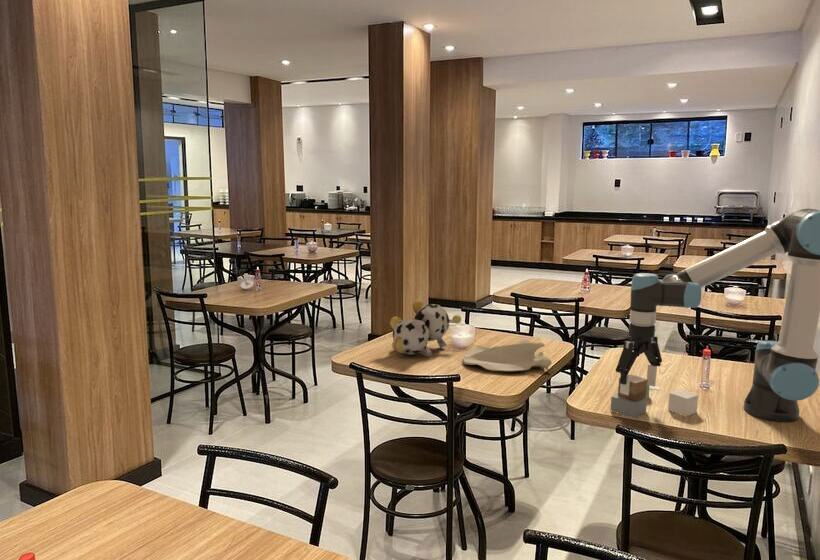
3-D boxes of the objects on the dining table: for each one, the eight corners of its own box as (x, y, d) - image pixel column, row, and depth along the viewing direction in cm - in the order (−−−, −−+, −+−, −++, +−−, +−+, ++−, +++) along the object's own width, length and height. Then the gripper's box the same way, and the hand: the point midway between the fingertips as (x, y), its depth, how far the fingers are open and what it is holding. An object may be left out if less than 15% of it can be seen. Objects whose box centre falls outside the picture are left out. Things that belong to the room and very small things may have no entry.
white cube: (696, 413, 191) (698, 394, 190) (685, 417, 188) (687, 398, 187) (678, 407, 196) (680, 389, 195) (668, 410, 192) (669, 392, 191)
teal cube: (648, 396, 205) (650, 379, 204) (637, 400, 201) (639, 383, 200) (633, 391, 210) (634, 374, 209) (622, 394, 206) (623, 378, 205)
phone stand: (659, 399, 204) (659, 394, 203) (621, 394, 208) (622, 389, 208) (659, 381, 222) (660, 377, 221) (625, 377, 226) (625, 372, 226)
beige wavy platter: (534, 377, 217) (538, 399, 222) (555, 342, 230) (558, 363, 236) (448, 359, 236) (453, 380, 242) (471, 327, 250) (476, 347, 256)
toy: (374, 322, 244) (411, 333, 232) (424, 289, 266) (460, 298, 254) (381, 366, 253) (417, 379, 241) (429, 331, 275) (465, 341, 263)
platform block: (646, 411, 192) (647, 396, 191) (634, 418, 186) (635, 403, 185) (622, 405, 197) (623, 390, 196) (610, 411, 192) (611, 396, 191)
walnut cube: (645, 397, 190) (647, 379, 189) (634, 401, 187) (635, 383, 186) (629, 392, 195) (631, 374, 194) (617, 395, 192) (619, 377, 191)
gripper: (655, 316, 196) (651, 378, 199) (606, 326, 182) (602, 393, 186) (676, 320, 190) (672, 385, 193) (627, 331, 176) (623, 401, 179)
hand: (637, 389), depth 189 cm, fingers open, 13 cm apart
